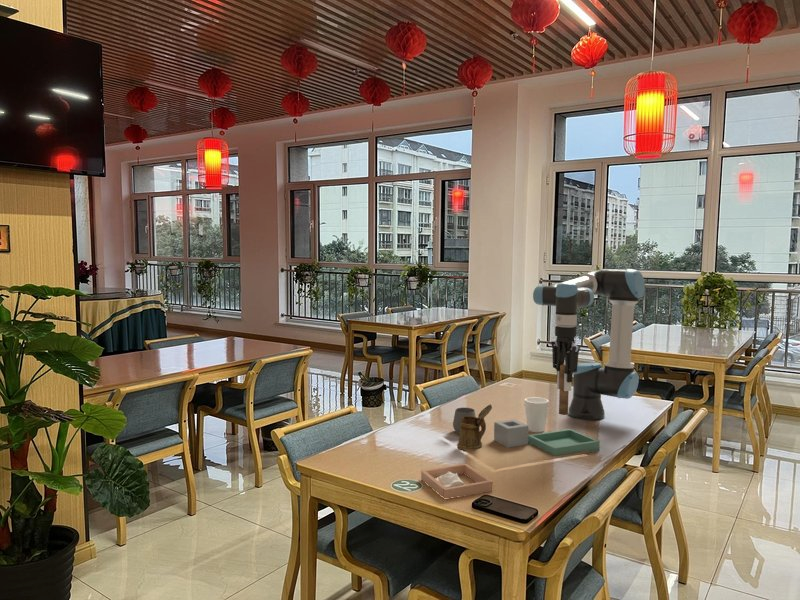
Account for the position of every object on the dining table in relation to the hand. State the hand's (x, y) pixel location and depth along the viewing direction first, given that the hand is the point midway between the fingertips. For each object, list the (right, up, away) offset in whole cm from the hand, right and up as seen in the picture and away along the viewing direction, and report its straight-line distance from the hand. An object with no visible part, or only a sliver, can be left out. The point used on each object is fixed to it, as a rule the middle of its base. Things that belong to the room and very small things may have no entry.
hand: (564, 389), depth 212 cm
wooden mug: (-33, -22, 0) cm, 39 cm away
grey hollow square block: (-19, -21, +5) cm, 29 cm away
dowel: (0, -9, +1) cm, 9 cm away
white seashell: (-45, -25, -33) cm, 61 cm away
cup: (-34, -21, +16) cm, 43 cm away
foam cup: (-6, -20, +20) cm, 29 cm away
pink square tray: (-43, -25, -33) cm, 59 cm away
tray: (0, -22, +2) cm, 22 cm away
